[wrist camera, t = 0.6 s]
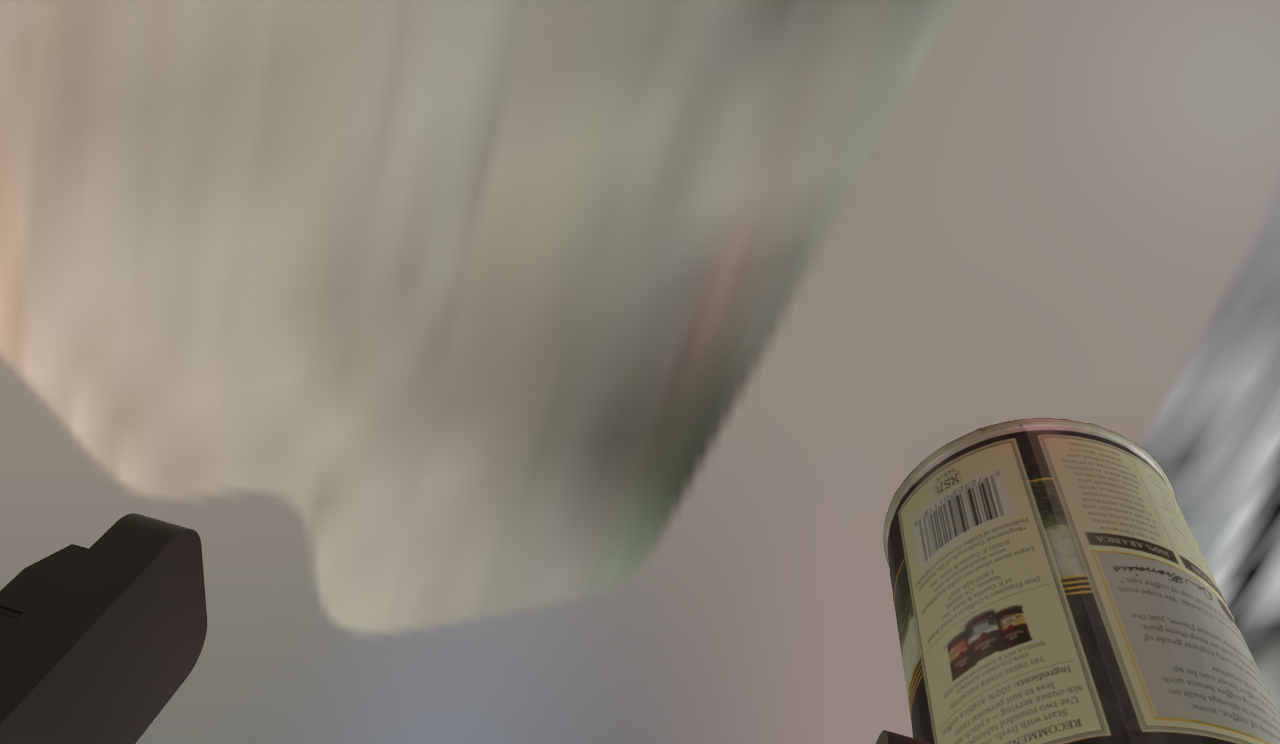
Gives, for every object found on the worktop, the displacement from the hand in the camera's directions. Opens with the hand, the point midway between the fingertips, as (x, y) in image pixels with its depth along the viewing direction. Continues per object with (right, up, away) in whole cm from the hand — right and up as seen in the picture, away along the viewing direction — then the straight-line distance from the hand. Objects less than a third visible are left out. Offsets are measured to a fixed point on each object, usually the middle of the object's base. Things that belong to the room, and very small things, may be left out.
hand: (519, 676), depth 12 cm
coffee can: (+15, -2, +27) cm, 31 cm away
